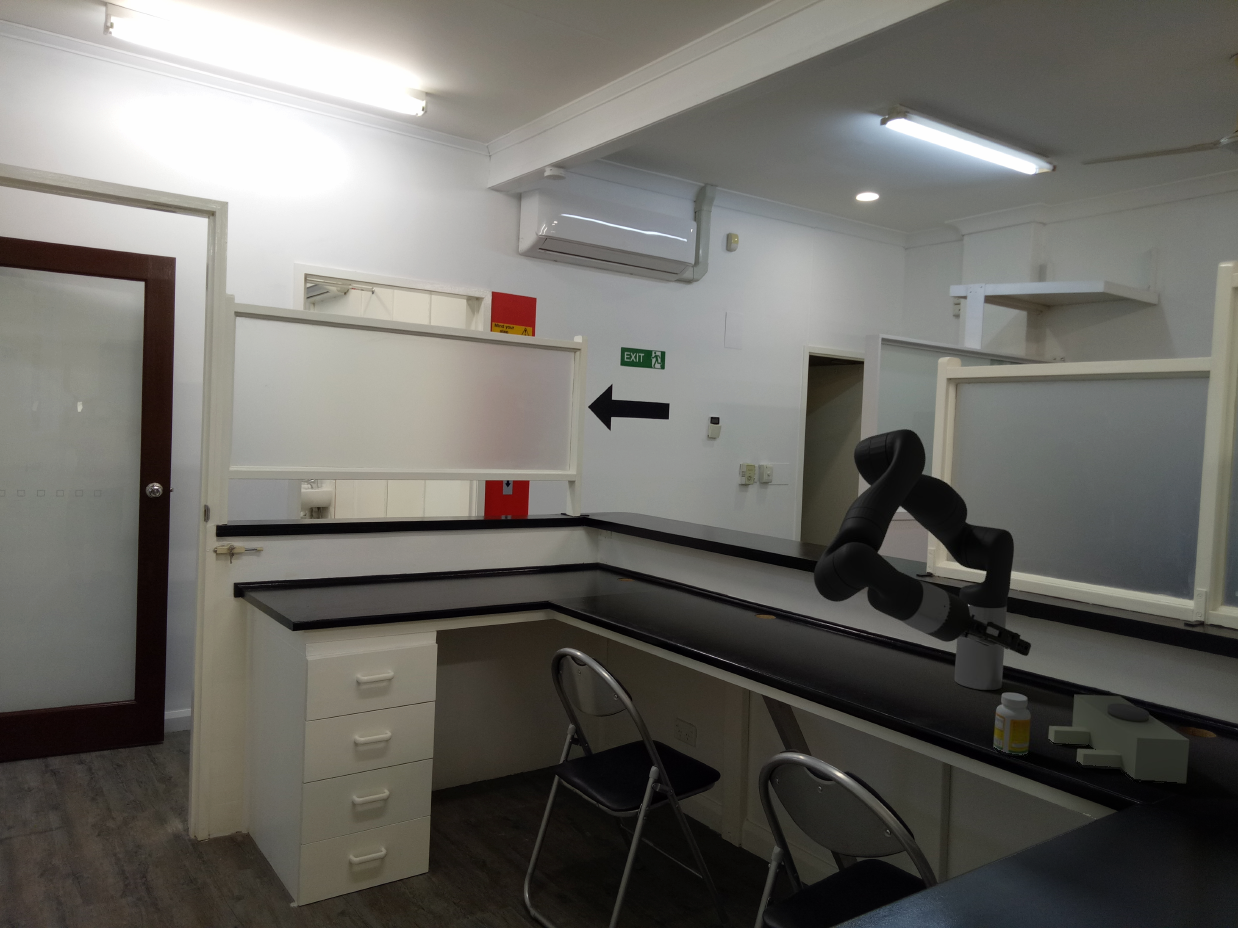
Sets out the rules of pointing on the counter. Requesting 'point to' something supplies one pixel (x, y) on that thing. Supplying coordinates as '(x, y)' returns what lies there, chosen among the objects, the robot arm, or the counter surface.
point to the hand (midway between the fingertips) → (1008, 644)
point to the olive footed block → (1124, 739)
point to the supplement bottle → (1012, 724)
